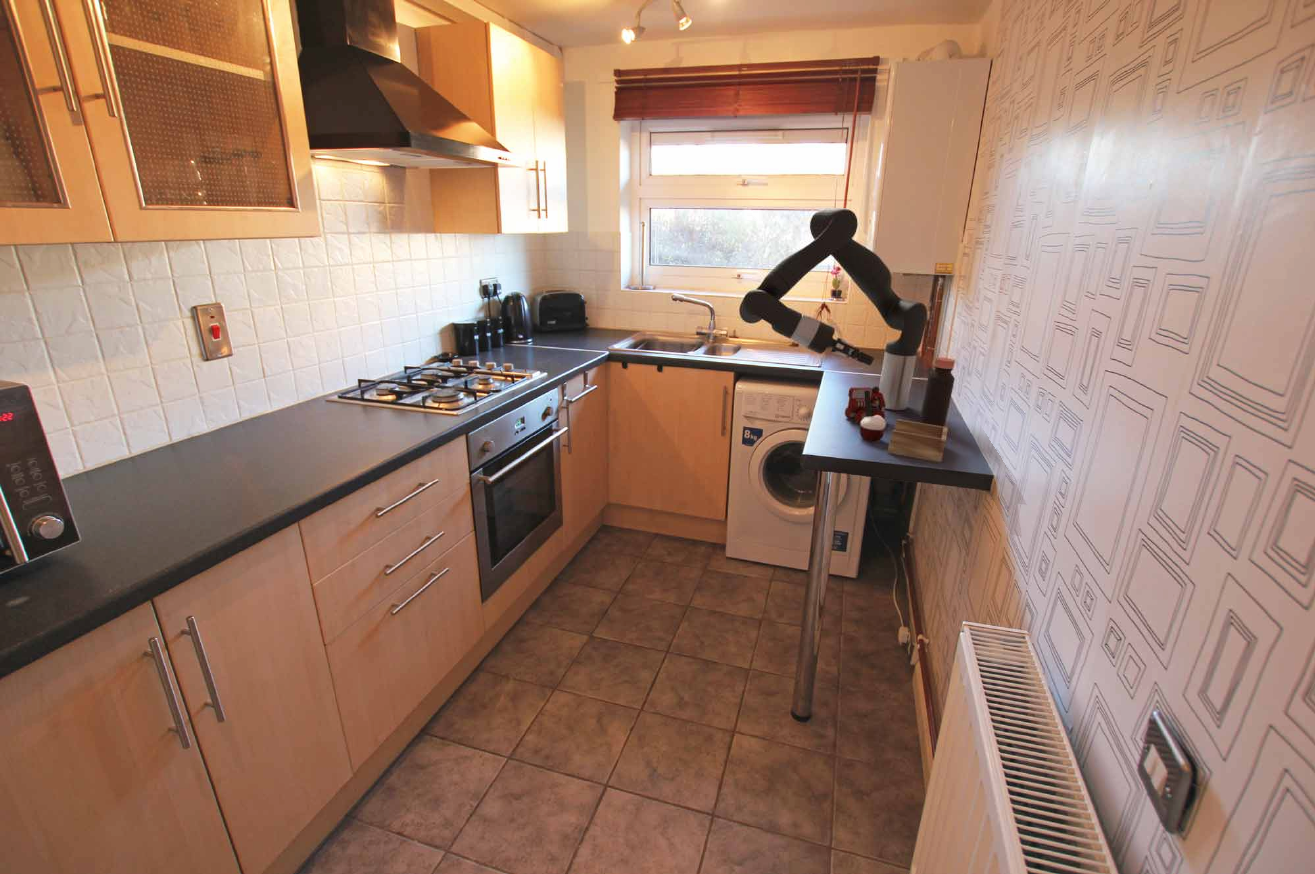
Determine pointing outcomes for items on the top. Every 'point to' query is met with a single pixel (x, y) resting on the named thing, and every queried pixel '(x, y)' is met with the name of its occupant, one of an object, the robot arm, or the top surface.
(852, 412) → the toy fire truck
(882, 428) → the cocoa
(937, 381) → the bottle
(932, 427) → the wooden tray
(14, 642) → the top surface
